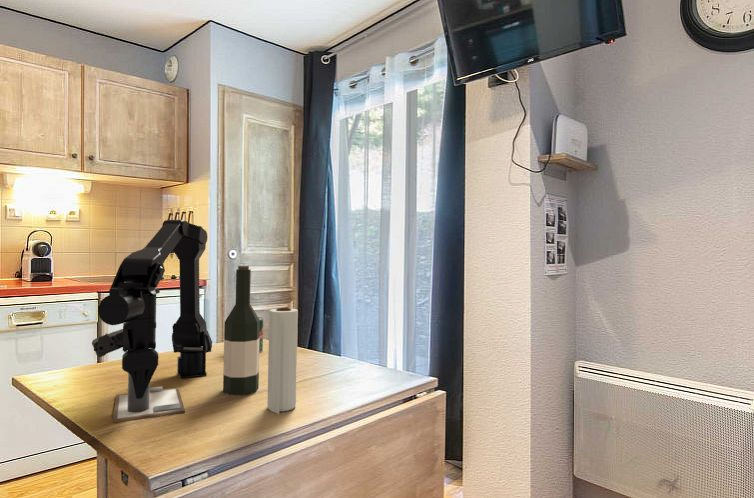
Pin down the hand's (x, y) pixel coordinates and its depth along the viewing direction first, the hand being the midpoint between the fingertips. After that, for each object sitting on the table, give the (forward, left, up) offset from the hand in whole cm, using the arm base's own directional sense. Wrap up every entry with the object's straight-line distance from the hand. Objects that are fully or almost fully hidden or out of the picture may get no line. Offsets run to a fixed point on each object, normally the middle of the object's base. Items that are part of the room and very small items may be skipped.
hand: (139, 392), depth 96 cm
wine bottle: (-22, -6, -4) cm, 23 cm away
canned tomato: (-33, -46, -4) cm, 57 cm away
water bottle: (0, 0, -4) cm, 4 cm away
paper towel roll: (-27, +10, -4) cm, 29 cm away
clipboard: (-2, -4, -4) cm, 6 cm away
